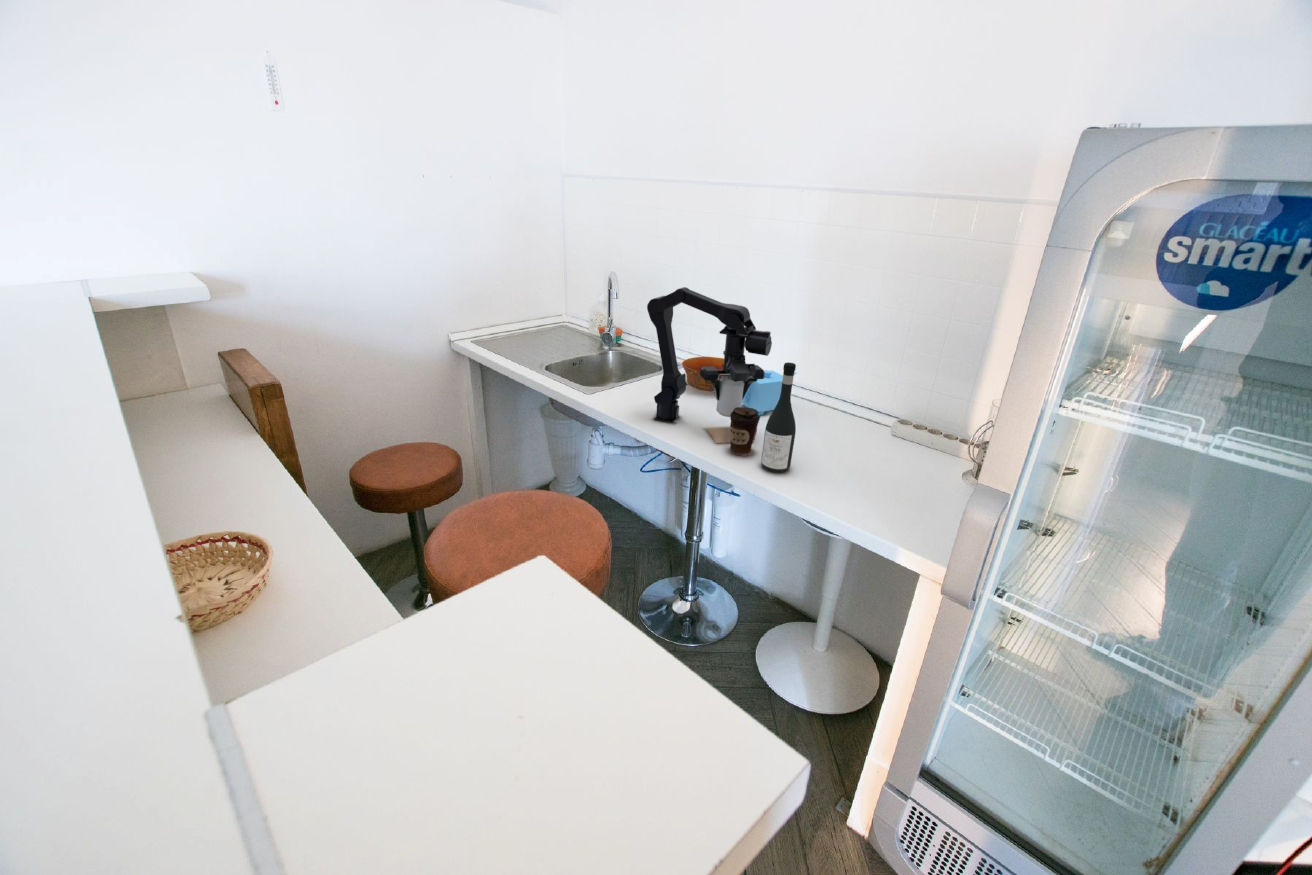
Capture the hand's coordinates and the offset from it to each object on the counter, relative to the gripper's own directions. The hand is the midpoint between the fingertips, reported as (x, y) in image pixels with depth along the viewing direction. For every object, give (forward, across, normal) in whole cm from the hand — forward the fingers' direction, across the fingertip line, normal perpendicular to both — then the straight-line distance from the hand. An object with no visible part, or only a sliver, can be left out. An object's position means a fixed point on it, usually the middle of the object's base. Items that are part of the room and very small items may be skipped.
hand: (729, 399), depth 177 cm
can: (+5, 0, 0) cm, 5 cm away
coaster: (+11, 0, -2) cm, 11 cm away
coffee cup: (+11, 0, -14) cm, 18 cm away
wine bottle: (+11, +6, -25) cm, 28 cm away
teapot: (+11, +21, +19) cm, 30 cm away
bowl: (+11, +6, +41) cm, 43 cm away
